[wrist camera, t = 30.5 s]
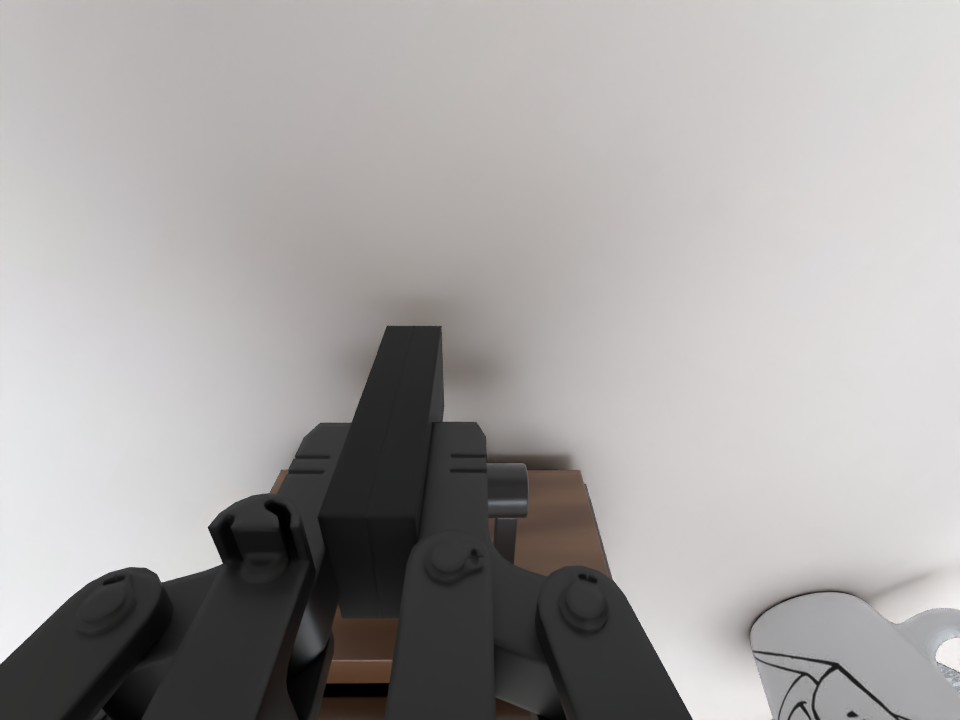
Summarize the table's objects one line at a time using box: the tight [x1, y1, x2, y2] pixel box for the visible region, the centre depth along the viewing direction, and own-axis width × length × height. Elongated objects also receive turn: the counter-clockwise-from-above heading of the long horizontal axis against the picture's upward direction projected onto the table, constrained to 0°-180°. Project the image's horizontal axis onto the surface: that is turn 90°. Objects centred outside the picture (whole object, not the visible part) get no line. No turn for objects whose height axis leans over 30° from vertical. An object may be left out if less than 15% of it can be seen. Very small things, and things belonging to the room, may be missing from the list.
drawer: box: [270, 463, 609, 697], centre depth 17 cm, size 19×11×7 cm, turn 179°
